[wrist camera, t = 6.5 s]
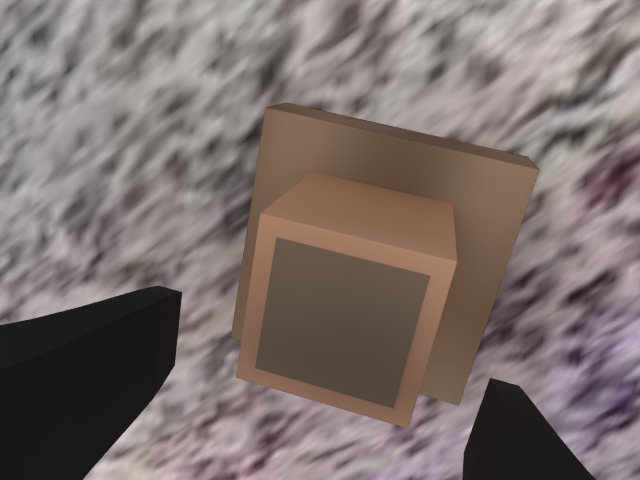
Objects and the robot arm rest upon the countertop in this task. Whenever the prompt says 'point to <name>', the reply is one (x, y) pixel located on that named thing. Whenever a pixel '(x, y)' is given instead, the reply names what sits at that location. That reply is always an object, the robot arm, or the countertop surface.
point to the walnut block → (417, 179)
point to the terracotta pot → (348, 295)
